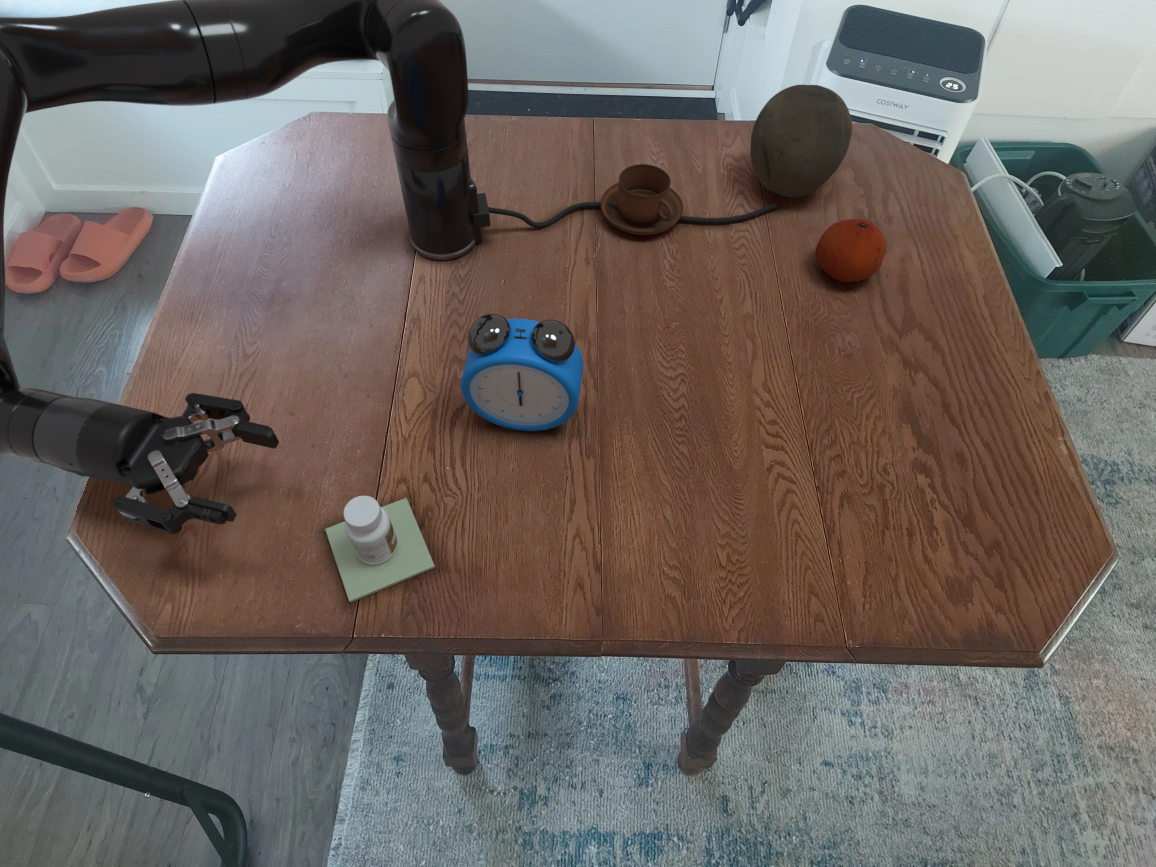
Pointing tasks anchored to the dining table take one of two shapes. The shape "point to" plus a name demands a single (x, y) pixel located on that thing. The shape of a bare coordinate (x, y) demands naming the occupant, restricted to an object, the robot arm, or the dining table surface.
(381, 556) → the pill bottle
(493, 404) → the alarm clock
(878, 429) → the dining table surface
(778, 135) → the kiwi
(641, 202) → the cup and saucer
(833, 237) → the fruit
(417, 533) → the coaster
